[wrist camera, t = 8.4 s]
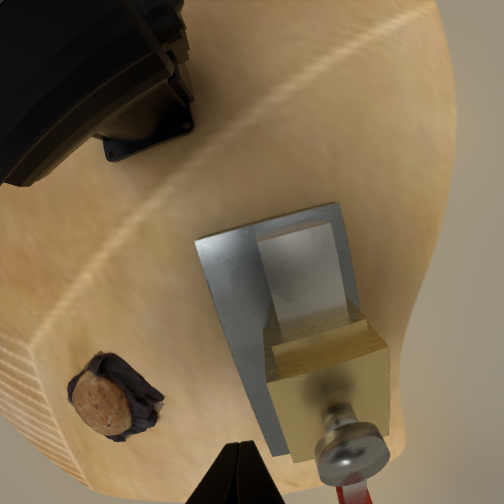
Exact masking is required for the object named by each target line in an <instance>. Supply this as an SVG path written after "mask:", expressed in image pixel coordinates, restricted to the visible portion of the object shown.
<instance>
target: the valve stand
mask: <svg viewBox="0 0 504 504" xmlns="http://www.w3.org/2000/svg"><path fill="white" fill-rule="evenodd" d="M194 242H195V245H196V248H197V252H198V255H199V258H200V261H201V265H202V268H203V271H204V274H205V277H206V280H207V283H208V287H209V290H210V293H211V296H212V299H213V302H214V305H215V308H216V311H217V314H218V316H219V319H220V322H221V325H222V328H223V331H224V334H225V337H226V339H227V342H228V345H229V348H230V351H231V353H232V356H233V359H234V362H235V364H236V367H237V370H238V372H239V375H240V378H241V380H242V383H243V386H244V388H245V391H246V393H247V396H248V398H249V401H250V404H251V406H252V409H253V411H254V414H255V416H256V419H257V421H258V424H259V426H260V428H261V431H262V433H263V436H264V438H265V440H266V443H267V445H268V447H269V450H270V452H271V454H272V457H275V456H280V455H285V454H291V457H292V460H293V463H298V462H303V461H307V460H311V459H315V462H316V458H315V452H314V450H315V446H316V444H317V443H318V441H319V440H320V439H321V438H322V437H323V436H324V435H326V434H327V433H328V432H330V431H332V430H333V429H335V428H338V427H340V426H342V425H345V424H349V423H353V422H369V423H372V424H374V425H376V426H377V428H378V429H379V431H380V433H381V435H382V437H385V436H387V435H389V417H390V366H389V346H388V345H387V344H386V343H385V342H384V340H383V339H382V338H381V337H380V336H379V335H378V333H377V332H376V331H375V330H374V329H373V328H372V326H371V325H370V324H369V323H368V322H367V319H366V318H365V317H364V316H363V314H362V313H361V312H360V310H359V303H358V296H357V290H356V284H355V278H354V272H353V267H352V261H351V256H350V251H349V246H348V241H347V236H346V231H345V226H344V222H343V217H342V213H341V209H340V204H339V203H338V202H331V203H327V204H323V205H319V206H315V207H311V208H307V209H303V210H299V211H296V212H292V213H288V214H284V215H280V216H277V217H273V218H269V219H265V220H262V221H258V222H254V223H250V224H247V225H243V226H240V227H236V228H232V229H229V230H225V231H222V232H218V233H214V234H211V235H207V236H204V237H200V238H198V239H197V240H196V241H194ZM316 466H317V462H316ZM317 470H318V467H317ZM318 474H319V472H318Z"/></svg>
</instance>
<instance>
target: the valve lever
mask: <svg viewBox="0 0 504 504" xmlns="http://www.w3.org/2000/svg"><path fill="white" fill-rule="evenodd" d="M314 452H315V458H316V462H317V467H318V472H319V476H320V480H321V481H322V482H323V483H324V484H326V485H330V486H336V492H337V497H338V502H339V504H372V501H371V498H370V495H369V492H368V489H367V479H368V478H370V477H372V476H373V475H375V474H376V473H378V472H379V471H380V470H381V469H382V468H383V467H384V466H385V465H386V464H387V462H388V461H389V458H390V452H389V450H388V448H387V446H386V444H385V441H384V439H383V437H382V435H381V433H380V431H379V429H378V428H377V426H376V425H374V424H372V423H369V422H353V423H349V424H345V425H342V426H340V427H338V428H335V429H333V430H332V431H330V432H328V433H327V434H326V435H324V436H323V437H322V438H321V439H320V440H319V441H318V443H317V444H316V446H315V450H314Z"/></svg>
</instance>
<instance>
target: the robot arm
mask: <svg viewBox="0 0 504 504" xmlns="http://www.w3.org/2000/svg"><path fill="white" fill-rule="evenodd" d="M183 5H184V0H0V186H1V185H2V184H3V182H4V183H8V184H11V185H15V186H18V187H30V186H31V185H32V184H33V183H34V182H36V181H39V180H41V179H42V178H44V177H45V176H47V175H49V174H50V173H51V172H52V171H53V170H54V169H55V168H56V167H57V166H58V165H59V164H60V163H61V162H63V161H64V160H65V159H66V158H67V157H68V156H69V155H70V154H72V153H73V152H74V151H75V150H76V149H77V148H79V147H80V146H81V145H82V144H83V143H84V142H86V141H87V140H88V139H89V138H91V137H94V138H97V139H100V140H103V146H104V151H105V156H106V159H107V160H108V161H110V162H117V161H119V160H121V159H124V158H126V157H128V156H131V155H133V154H136V153H138V152H141V151H143V150H146V149H148V148H151V147H153V146H156V145H159V144H161V143H164V142H167V141H170V140H173V139H175V138H178V137H181V136H184V135H187V134H190V133H192V132H193V131H194V129H195V123H194V119H193V116H192V112H191V108H190V104H189V103H192V102H193V100H194V95H193V91H192V87H191V83H190V80H189V76H188V72H187V69H186V67H185V65H184V63H183V62H185V61H187V60H189V56H188V53H187V51H188V50H190V48H189V44H188V40H187V36H186V32H185V30H186V26H185V24H184V21H183V19H182V16H181V13H180V12H181V10H182V8H183ZM187 123H189V124H190V127H189V128H188V129H184V125H185V124H187ZM113 152H115V156H114V157H113V158H112V157H111V154H112V153H113ZM185 504H285V503H284V500H283V498H282V496H281V495H280V493H279V491H278V489H277V487H276V485H275V483H274V481H273V479H272V477H271V475H270V473H269V471H268V470H267V468H266V466H265V463H264V461H263V459H262V457H261V455H260V453H259V451H258V449H257V447H256V445H255V443H254V441H253V440H249V441H242V442H240V443H239V442H235V443H228V444H226V445H225V446H224V447H223V449H222V450H221V452H220V453H219V455H218V456H217V458H216V460H215V461H214V463H213V464H212V466H211V467H210V469H209V470H208V472H207V473H206V475H205V476H204V477H203V479H202V480H201V482H200V483H199V485H198V486H197V488H196V489H195V490H194V492H193V493H192V495H191V496H190V497H189V499H188V500H187V502H186V503H185Z"/></svg>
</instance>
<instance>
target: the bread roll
mask: <svg viewBox="0 0 504 504" xmlns="http://www.w3.org/2000/svg"><path fill="white" fill-rule="evenodd" d="M67 391H68V397H67V400H68V402H69V403H70V404H71V405H72V406H73V407H74V408H75V410H76V412H77V413H78V414H79V416H80V417H81V418H82V420H83V421H84V422H85V423H86V424H87V425H88V426H90V427H91V428H92V429H93V430H94V431H96V432H98V433H100V434H102V435H104V436H106V437H107V438H109V439H112V440H113V441H115V442H125V441H126V439H128V438H129V437H130V436H132V435H133V434H138V433H140V432H144V431H146V429H147V428H150V427H154V426H155V424H156V422H157V421H156V418H157V414H158V412H160V410H161V409H162V406H164V403H162V402H161V401H163V400H164V396H163V395H162V394H161V393H160V392H159V391H158V390H156V389H155V388H154V387H152V386H151V385H150V384H149V383H148V382H147V381H146V380H144V379H143V378H142V377H141V376H139V375H138V373H137V372H136V371H135V370H134V369H133V368H132V367H131V366H130V365H129V364H127V363H126V362H125V361H124V360H123V359H121V358H119V357H117V356H115V355H113V354H109V353H108V354H106V353H103V352H102V351H99V352H98V353H97V354H96V355H94V357H93V358H92V359H91V360H90V361H89V362H88V363H87V364H86V365H85V366H84V369H83V370H82V371H81V372H80V374H78V376H75V377H74V378H73V379H72V381H70V382H69V383H68V388H67ZM159 402H161V403H159Z"/></svg>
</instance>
